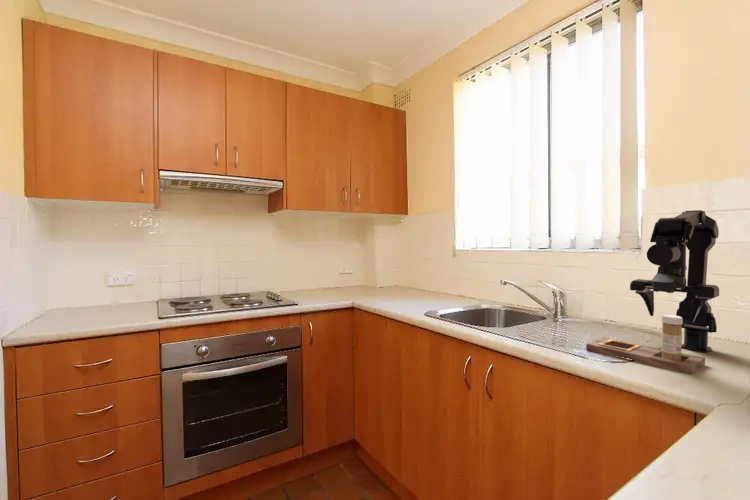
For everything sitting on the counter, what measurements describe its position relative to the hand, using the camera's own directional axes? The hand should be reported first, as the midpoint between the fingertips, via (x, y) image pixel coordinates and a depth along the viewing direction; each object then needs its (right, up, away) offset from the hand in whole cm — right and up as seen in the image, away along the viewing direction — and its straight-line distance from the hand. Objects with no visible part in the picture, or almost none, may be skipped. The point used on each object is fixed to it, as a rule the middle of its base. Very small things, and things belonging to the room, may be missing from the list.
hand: (671, 318), depth 104 cm
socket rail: (-4, -13, +6) cm, 15 cm away
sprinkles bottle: (0, -13, +1) cm, 13 cm away
